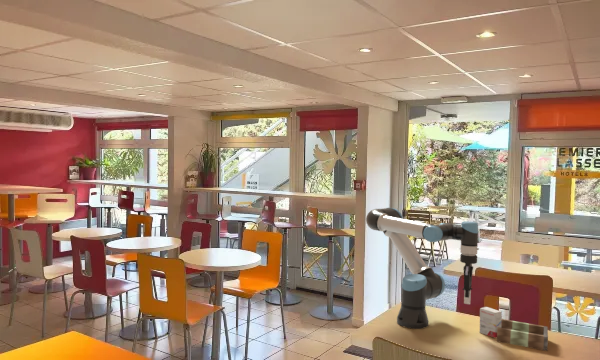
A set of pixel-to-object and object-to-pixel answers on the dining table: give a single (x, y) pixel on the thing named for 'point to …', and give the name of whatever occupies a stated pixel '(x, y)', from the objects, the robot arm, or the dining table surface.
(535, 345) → the open-top container
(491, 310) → the ink box
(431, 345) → the dining table surface
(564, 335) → the dining table surface
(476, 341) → the dining table surface
